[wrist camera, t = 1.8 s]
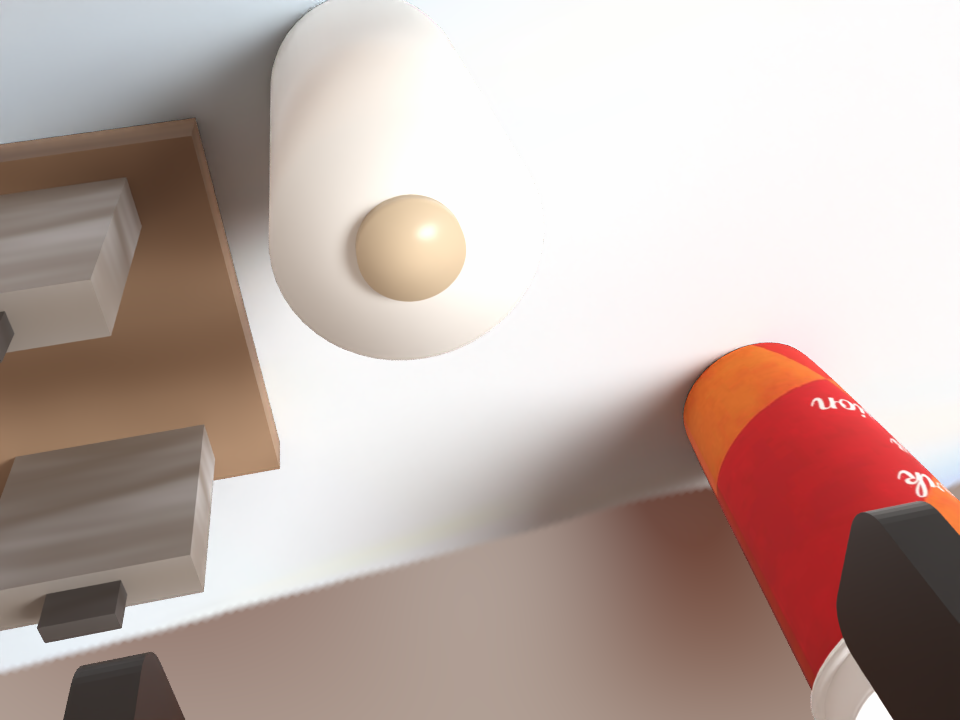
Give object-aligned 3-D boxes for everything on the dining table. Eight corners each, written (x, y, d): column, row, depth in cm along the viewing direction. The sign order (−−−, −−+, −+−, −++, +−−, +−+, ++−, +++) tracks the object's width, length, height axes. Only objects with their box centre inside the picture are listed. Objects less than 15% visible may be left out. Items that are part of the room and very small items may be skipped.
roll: (251, 6, 25) (239, 138, 16) (454, -19, 26) (542, 96, 17) (291, 196, 28) (298, 390, 20) (470, 170, 29) (552, 346, 20)
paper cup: (849, 436, 38) (1095, 730, 27) (675, 501, 38) (845, 820, 27) (833, 284, 34) (1120, 559, 22) (637, 358, 34) (821, 668, 23)
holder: (-174, 168, 25) (-351, 332, 18) (195, 117, 26) (165, 253, 19) (-9, 492, 32) (-91, 705, 25) (279, 442, 33) (280, 631, 26)
